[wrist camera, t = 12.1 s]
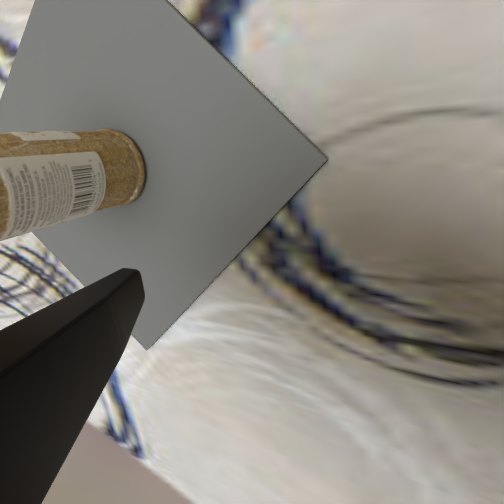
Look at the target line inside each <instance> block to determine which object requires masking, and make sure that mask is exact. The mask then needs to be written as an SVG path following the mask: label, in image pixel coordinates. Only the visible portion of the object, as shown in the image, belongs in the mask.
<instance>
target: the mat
mask: <svg viewBox="0 0 504 504" xmlns="http://www.w3.org/2000/svg"><path fill="white" fill-rule="evenodd" d="M99 129H112V130H115V131H119V132H121V133H123V134H124V135H126V136H127V137H128V138H130V139H131V140H132V141H133V143H134V144H135V146H136V147H137V149H138V151H139V153H140V154H141V157H142V160H143V164H144V175H145V176H144V182H143V187H142V190H141V192H140V194H139V196H138V197H137V198H136V199H135V200H134V201H133V202H131V203H129V204H127V205H122V206H113V207H110V208H106V209H103V210H99V211H95V212H93V213H91V214H89V215H87V216H83V217H80V218H77V219H73V220H70V221H67V222H63V223H60V224H57V225H53V226H50V227H47V228H43V229H39V230H36V231H33V234H34V235H35V236H36V237H37V238H38V239H39V240H40V241H41V242H42V243H43V244H44V245H45V246H46V247H47V248H48V249H49V250H50V251H51V252H52V253H53V254H54V255H55V256H56V257H57V258H58V259H59V260H60V261H61V263H62V264H63V265H64V266H65V267H66V268H67V269H68V270H69V271H70V272H71V273H72V274H73V275H74V276H75V277H76V278H77V279H78V280H79V281H80V282H81V283H82V284H83V285H84V286H85V287H86V286H88V285H90V284H92V283H94V282H96V281H98V280H100V279H102V278H104V277H106V276H108V275H110V274H112V273H114V272H116V271H118V270H119V269H122V268H131V269H137V270H139V271H140V273H141V276H142V281H143V286H144V291H145V300H144V304H143V306H142V309H141V311H140V313H139V316H138V318H137V321H136V323H135V326H134V328H133V331H132V333H131V335H132V336H133V337H134V338H135V339H136V340H137V341H138V342H139V343H140V344H141V345H142V346H143V347H144V348H145V349H146V350H148V349H149V348H150V347H151V346H152V345H153V344H154V343H155V342H156V341H157V340H158V339H159V338H160V336H161V335H162V334H163V333H164V332H165V331H166V330H167V329H168V328H169V327H170V326H171V325H172V324H173V323H174V322H175V321H176V320H177V318H178V317H179V316H180V315H181V314H182V313H183V312H184V311H185V310H186V309H187V308H188V307H189V306H190V305H191V304H192V303H193V302H194V300H195V299H196V298H197V297H198V296H199V295H200V294H201V293H202V292H203V291H204V290H205V289H206V288H207V287H208V286H209V285H210V284H211V283H212V281H213V280H214V279H215V278H216V277H217V276H218V275H219V274H220V273H221V272H222V271H223V270H224V269H225V268H226V267H227V266H228V265H229V263H230V262H231V261H232V260H233V259H234V258H235V257H236V256H237V255H238V254H239V253H240V252H241V251H242V250H243V249H244V248H245V247H246V245H247V244H248V243H249V242H250V241H251V240H252V239H253V238H254V237H255V236H256V235H257V234H258V233H259V232H260V231H261V230H262V229H263V227H264V226H265V225H266V224H267V223H268V222H269V221H270V220H271V219H272V218H273V217H274V216H275V215H276V214H277V213H278V212H279V211H280V209H281V208H282V207H283V206H284V205H285V204H286V203H287V202H288V201H289V200H290V199H291V198H292V197H293V196H294V195H295V194H296V193H297V192H298V190H299V189H300V188H301V187H302V186H303V185H304V184H305V183H306V182H307V181H308V180H309V179H310V178H311V177H312V176H313V175H314V174H315V172H316V171H317V170H318V169H319V168H320V167H321V166H322V165H323V164H324V163H325V162H326V161H327V160H328V158H327V157H326V156H325V155H324V154H323V153H322V152H321V151H320V150H319V149H318V148H317V147H316V146H315V145H314V144H313V143H312V142H311V141H310V140H309V139H308V138H307V137H306V136H305V135H304V134H303V133H302V132H301V131H300V130H299V129H298V128H297V127H296V126H295V125H294V124H293V123H292V122H291V121H290V120H288V119H287V118H286V117H285V116H284V115H283V114H282V113H281V112H280V111H279V110H278V109H277V108H276V107H275V106H274V105H273V104H272V103H271V102H270V101H269V100H268V99H267V98H266V97H265V96H264V95H263V94H262V93H261V92H260V91H259V90H258V89H257V88H256V87H255V86H254V85H253V84H252V83H251V82H250V81H249V80H248V79H247V78H246V77H245V76H244V75H243V74H242V73H241V72H240V71H239V70H238V69H237V68H236V67H235V66H234V65H233V64H232V63H230V62H229V61H228V60H227V59H226V58H225V57H224V56H223V55H222V54H221V53H220V52H219V51H218V50H217V49H216V48H215V47H214V46H213V45H212V44H211V43H210V42H209V41H208V40H207V39H206V38H205V37H204V36H203V35H202V34H201V33H200V32H199V31H198V30H197V29H196V28H195V27H194V26H193V25H192V24H191V23H190V22H189V21H188V20H187V19H186V18H185V17H184V16H183V15H182V14H181V13H180V12H179V11H178V10H177V9H176V8H175V7H174V6H172V5H171V4H170V3H169V2H168V1H167V0H35V2H34V5H33V8H32V11H31V13H30V16H29V19H28V22H27V25H26V28H25V31H24V34H23V36H22V39H21V42H20V45H19V48H18V51H17V54H16V57H15V60H14V62H13V65H12V68H11V71H10V74H9V77H8V80H7V83H6V85H5V88H4V91H3V94H2V97H1V100H0V134H4V133H8V132H35V131H69V132H87V131H96V130H99Z"/></svg>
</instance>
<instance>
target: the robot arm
mask: <svg viewBox="0 0 504 504" xmlns="http://www.w3.org/2000/svg"><path fill="white" fill-rule="evenodd" d="M144 300H145V291H144V286H143V281H142V276H141V273H140V271H139V270H137V269H131V268H122V269H119V270H118V271H116V272H114V273H112V274H110V275H108V276H106V277H104V278H102V279H100V280H98V281H96V282H94V283H92V284H90V285H88V286H86V287H84V288H82V289H80V290H78V291H76V292H75V293H73V294H71V295H69V296H67V297H65V298H63V299H61V300H59V301H57V302H55V303H53V304H51V305H49V306H47V307H45V308H43V309H41V310H39V311H37V312H35V313H33V314H31V315H30V316H28V317H26V318H24V319H22V320H20V321H18V322H16V323H14V324H12V325H10V326H8V327H6V328H4V329H2V330H0V504H41V503H42V501H43V500H44V498H45V496H46V494H47V492H48V490H49V489H50V487H51V485H52V483H53V481H54V479H55V477H56V476H57V474H58V472H59V470H60V468H61V467H62V465H63V463H64V461H65V459H66V457H67V455H68V453H69V452H70V450H71V448H72V446H73V444H74V443H75V441H76V439H77V437H78V435H79V433H80V432H81V430H82V428H83V426H84V424H85V422H86V421H87V419H88V417H89V415H90V413H91V411H92V410H93V408H94V406H95V404H96V402H97V400H98V399H99V397H100V395H101V393H102V391H103V389H104V388H105V386H106V384H107V382H108V380H109V378H110V377H111V375H112V373H113V371H114V369H115V367H116V366H117V364H118V362H119V360H120V358H121V356H122V354H123V352H124V350H125V348H126V345H127V343H128V340H129V338H130V336H131V333H132V331H133V328H134V326H135V323H136V321H137V318H138V316H139V313H140V311H141V309H142V306H143V304H144Z"/></svg>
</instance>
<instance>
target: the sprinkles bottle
mask: <svg viewBox="0 0 504 504" xmlns="http://www.w3.org/2000/svg"><path fill="white" fill-rule="evenodd" d="M144 176H145V175H144V164H143V160H142V157H141V154H140V153H139V151H138V149H137V147H136V146H135V144H134V143H133V141H132V140H131V139H130V138H128V137H127V136H126V135H124V134H123V133H121V132H119V131H115V130H112V129H99V130H96V131H87V132H69V131H35V132H8V133H4V134H0V241H2V240H5V239H9V238H12V237H16V236H19V235H22V234H26V233H29V232H33V231H36V230H39V229H43V228H47V227H50V226H53V225H57V224H60V223H63V222H67V221H70V220H73V219H77V218H80V217H83V216H87V215H89V214H91V213H93V212H95V211H99V210H103V209H106V208H110V207H113V206H122V205H127V204H129V203H131V202H133V201H134V200H135V199H136V198H137V197H138V196H139V194H140V192H141V190H142V187H143V182H144Z"/></svg>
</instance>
